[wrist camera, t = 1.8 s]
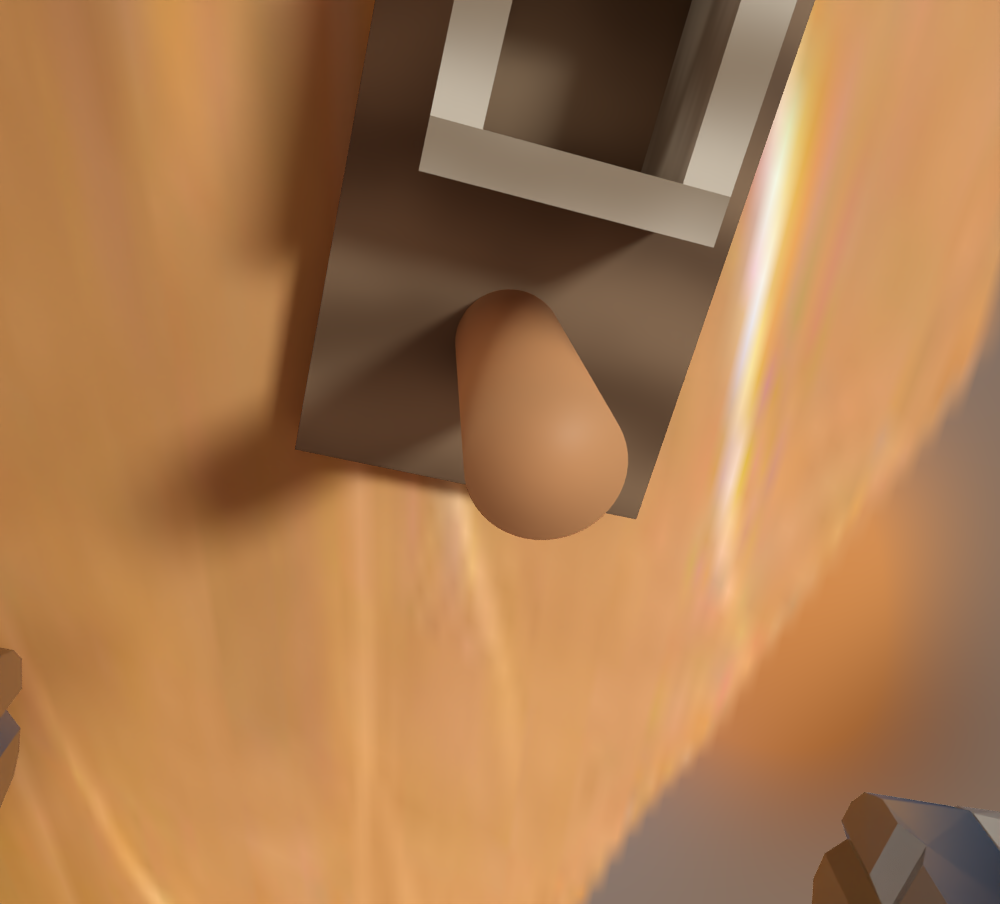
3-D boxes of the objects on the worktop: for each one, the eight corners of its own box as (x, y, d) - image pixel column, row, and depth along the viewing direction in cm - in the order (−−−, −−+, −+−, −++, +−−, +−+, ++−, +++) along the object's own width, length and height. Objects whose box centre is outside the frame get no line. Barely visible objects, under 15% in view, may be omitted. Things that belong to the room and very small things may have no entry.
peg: (545, 403, 32) (600, 553, 21) (444, 380, 32) (446, 522, 21) (574, 303, 31) (649, 407, 20) (469, 277, 30) (486, 370, 19)
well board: (625, 498, 36) (670, 588, 29) (302, 431, 34) (267, 511, 27) (817, -69, 29) (937, -128, 22) (417, -201, 27) (409, -313, 20)
